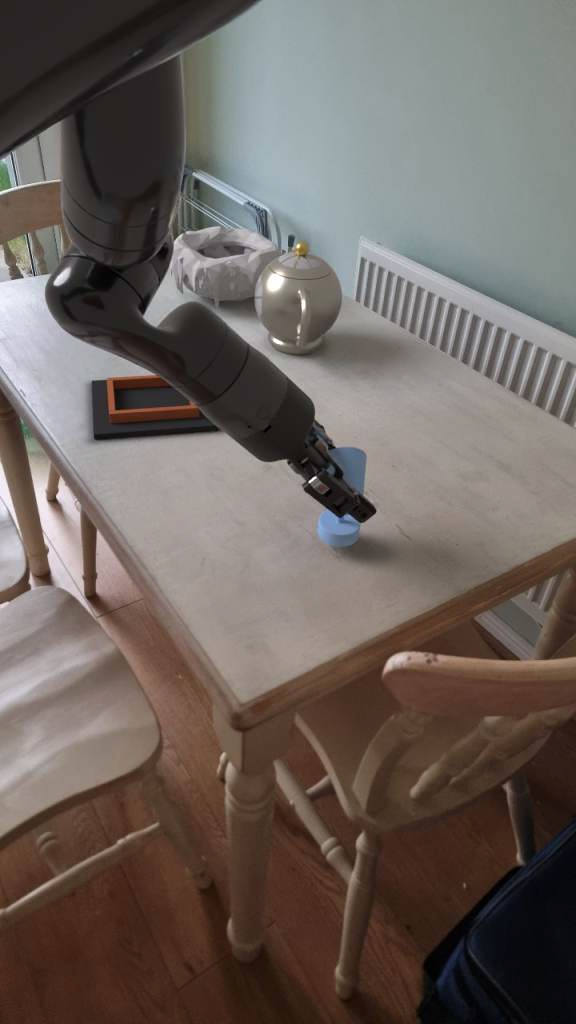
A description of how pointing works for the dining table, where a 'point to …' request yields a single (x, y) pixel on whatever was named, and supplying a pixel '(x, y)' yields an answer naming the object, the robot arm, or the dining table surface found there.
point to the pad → (143, 408)
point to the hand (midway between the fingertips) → (357, 492)
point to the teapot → (298, 300)
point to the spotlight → (346, 527)
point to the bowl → (221, 262)
